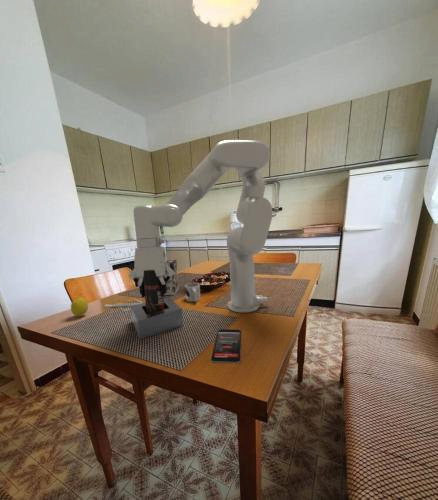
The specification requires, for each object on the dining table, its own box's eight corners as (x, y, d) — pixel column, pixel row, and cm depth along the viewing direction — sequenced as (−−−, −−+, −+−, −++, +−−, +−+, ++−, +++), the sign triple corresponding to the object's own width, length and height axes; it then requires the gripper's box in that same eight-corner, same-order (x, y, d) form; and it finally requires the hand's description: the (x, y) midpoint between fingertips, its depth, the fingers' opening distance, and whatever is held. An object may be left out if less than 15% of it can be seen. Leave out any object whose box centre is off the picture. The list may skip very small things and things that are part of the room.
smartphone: (210, 361, 50) (218, 329, 65) (210, 363, 50) (218, 331, 65) (240, 361, 49) (241, 329, 64) (240, 364, 49) (241, 331, 64)
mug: (184, 297, 95) (183, 284, 94) (198, 295, 97) (197, 282, 96) (188, 305, 86) (187, 290, 85) (203, 303, 88) (202, 288, 87)
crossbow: (146, 302, 96) (146, 297, 95) (137, 314, 83) (137, 309, 83) (112, 302, 95) (111, 298, 95) (97, 314, 82) (96, 309, 82)
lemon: (69, 318, 79) (66, 299, 78) (82, 312, 84) (80, 294, 83) (78, 320, 77) (75, 300, 76) (92, 314, 82) (89, 295, 81)
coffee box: (175, 295, 99) (172, 262, 97) (162, 295, 100) (159, 263, 97) (179, 289, 108) (176, 259, 106) (167, 289, 109) (164, 260, 106)
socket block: (170, 311, 81) (168, 296, 80) (183, 325, 69) (181, 308, 68) (132, 321, 74) (130, 306, 73) (139, 339, 62) (137, 320, 61)
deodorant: (159, 315, 67) (155, 270, 65) (143, 314, 68) (138, 270, 66) (167, 307, 73) (163, 266, 71) (152, 307, 74) (148, 266, 72)
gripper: (176, 241, 71) (180, 290, 74) (127, 243, 71) (133, 293, 74) (172, 243, 64) (176, 298, 66) (117, 246, 64) (124, 301, 66)
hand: (153, 294), depth 70 cm, fingers closed on deodorant, 6 cm apart
